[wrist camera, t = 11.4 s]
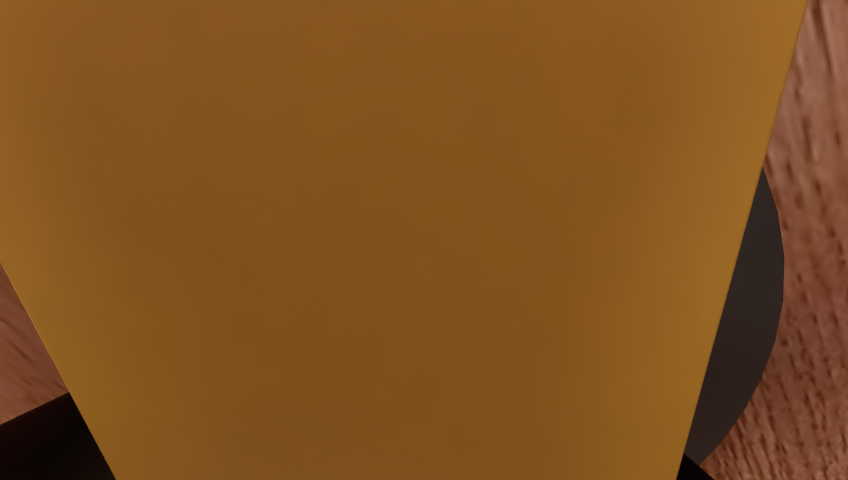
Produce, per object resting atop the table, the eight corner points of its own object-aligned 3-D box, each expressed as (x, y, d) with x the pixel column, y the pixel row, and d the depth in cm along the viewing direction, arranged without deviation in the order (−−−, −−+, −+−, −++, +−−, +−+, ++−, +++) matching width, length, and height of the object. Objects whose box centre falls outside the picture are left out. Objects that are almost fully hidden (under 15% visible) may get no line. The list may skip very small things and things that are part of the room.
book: (555, 569, 11) (598, 764, 8) (307, 565, 12) (258, 748, 9) (625, -27, 6) (850, -141, 2) (146, 10, 6) (-171, -46, 3)
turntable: (897, 47, 7) (987, 44, 6) (611, 552, 13) (627, 601, 12) (39, -97, 7) (-45, -131, 6) (150, 486, 13) (119, 529, 12)
